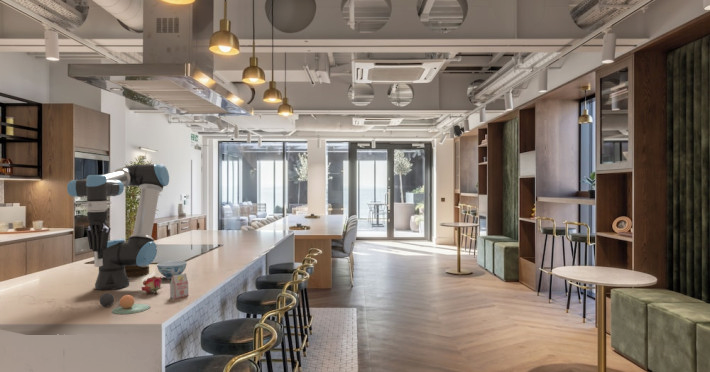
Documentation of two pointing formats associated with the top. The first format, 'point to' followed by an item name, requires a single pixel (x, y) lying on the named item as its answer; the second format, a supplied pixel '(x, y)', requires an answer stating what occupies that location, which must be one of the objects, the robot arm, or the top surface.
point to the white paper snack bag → (179, 286)
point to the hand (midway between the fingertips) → (98, 266)
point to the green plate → (131, 309)
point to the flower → (152, 284)
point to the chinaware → (171, 268)
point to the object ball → (126, 301)
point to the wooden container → (136, 270)
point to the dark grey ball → (106, 299)
